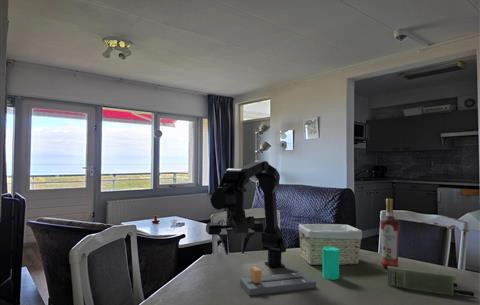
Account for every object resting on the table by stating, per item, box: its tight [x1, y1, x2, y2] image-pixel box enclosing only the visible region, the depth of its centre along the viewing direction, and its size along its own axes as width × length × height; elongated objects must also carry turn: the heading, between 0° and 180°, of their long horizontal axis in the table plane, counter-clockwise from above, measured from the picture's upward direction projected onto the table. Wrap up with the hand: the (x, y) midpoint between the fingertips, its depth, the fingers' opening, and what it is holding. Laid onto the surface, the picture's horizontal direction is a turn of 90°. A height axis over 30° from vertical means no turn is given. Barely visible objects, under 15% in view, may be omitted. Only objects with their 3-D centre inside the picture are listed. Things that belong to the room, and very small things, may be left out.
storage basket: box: [298, 223, 363, 266], centre depth 140 cm, size 24×16×15 cm
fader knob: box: [249, 265, 262, 283], centre depth 107 cm, size 4×2×4 cm, turn 17°
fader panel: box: [239, 271, 317, 296], centre depth 109 cm, size 10×24×2 cm, turn 107°
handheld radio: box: [387, 266, 475, 297], centre depth 107 cm, size 7×3×25 cm
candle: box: [322, 247, 340, 280], centre depth 119 cm, size 6×6×12 cm
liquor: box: [379, 198, 401, 270], centre depth 131 cm, size 7×7×28 cm
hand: (234, 253), depth 105 cm, fingers open, 5 cm apart
